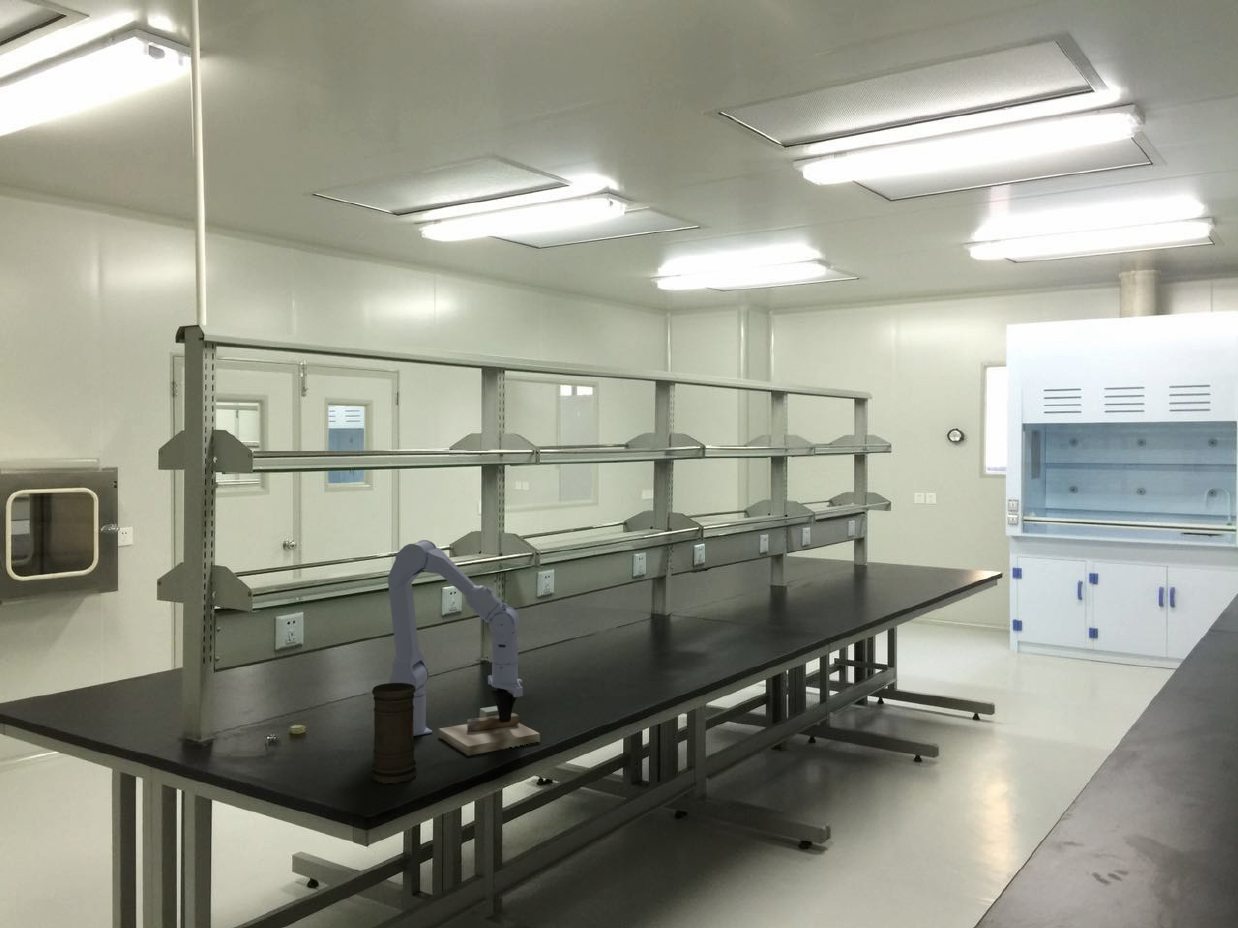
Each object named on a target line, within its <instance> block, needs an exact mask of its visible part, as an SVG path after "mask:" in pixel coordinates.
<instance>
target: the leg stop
mask: <svg viewBox="0 0 1238 928" xmlns="http://www.w3.org/2000/svg"><path fill="white" fill-rule="evenodd" d="M497 715H499V713H498V709H497V705H495V706H488V707H482V708H479V718H482V717H489V716H497Z"/></svg>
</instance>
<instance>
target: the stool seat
mask: <svg viewBox="0 0 1238 928" xmlns="http://www.w3.org/2000/svg"><path fill="white" fill-rule="evenodd" d="M438 738H439V739H441V740H442V739H443V741H444V742H445V741H446V742H445V743H448V744H449V745H451V746H452V747H453V748H455V749H457V750H459V751H460V752H462V753H464V755H466V756H474V755H478V754H485V753H489V752H490V753H491V752H494V751H500V749H501V750H506V748H507V749H510V748H509V747H512V748H516V747H515V746H517V747H521V746H520V745H523V746H527V745H526V744H528V745H530V744H529V743H534V744H536V743H535V742H539V743H540V742H541V733H539V732H538V731H536V730H534V729H532V728H530V727H528V726H526V725H524V724H522V723H520V722H519V724H517V725H510V726H504V727H497V728H490V729H483V730H477V731H469V730H467V723H465V724H460V725H459V724H458V725H453V726H447V727H441V728H440V727H439V728H438ZM524 744H525V745H524Z"/></svg>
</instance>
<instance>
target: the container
mask: <svg viewBox="0 0 1238 928" xmlns="http://www.w3.org/2000/svg"><path fill="white" fill-rule="evenodd" d="M415 691H416V689H415V686H414V685H412V684H408V683H390V682H388V683H383V684H382V683H381V684H379V685H376V686H374V687H373V688H372V690H371V693H372V694H371V695H373V700H374V708H373V711H374V715H373V716H374V718H373V721H374V745H373V746H374V747H373V751H372V752H373V762H372V766H371V768H372V770H371V774H370V775H371V778H372V780H373V781H374V780H375V782H376V781H378V782H377V783H380V782H382V783H381V784H387V783H393V784H398V783H397V782H401V783H403V782H402V781H405V782H408V781H410V780H413V779H414V778H415V777H416V775H417V767H416V765H417V762H416V760H415V746H414V736H413V709H414V706H413V699H414V693H415Z"/></svg>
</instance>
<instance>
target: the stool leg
mask: <svg viewBox="0 0 1238 928" xmlns="http://www.w3.org/2000/svg"><path fill="white" fill-rule="evenodd" d="M519 723H520V720H519V715H518V714H516V712H512V714H511V720H510V722H504V723H501V722H500V719H499V715H497V716H489V717H482V718H480V717H478V718H469V719H467V721H466V724H467V730H469V731H477V730H483V729H490V728H497V727H504V726H510V725H517V724H519Z"/></svg>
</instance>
